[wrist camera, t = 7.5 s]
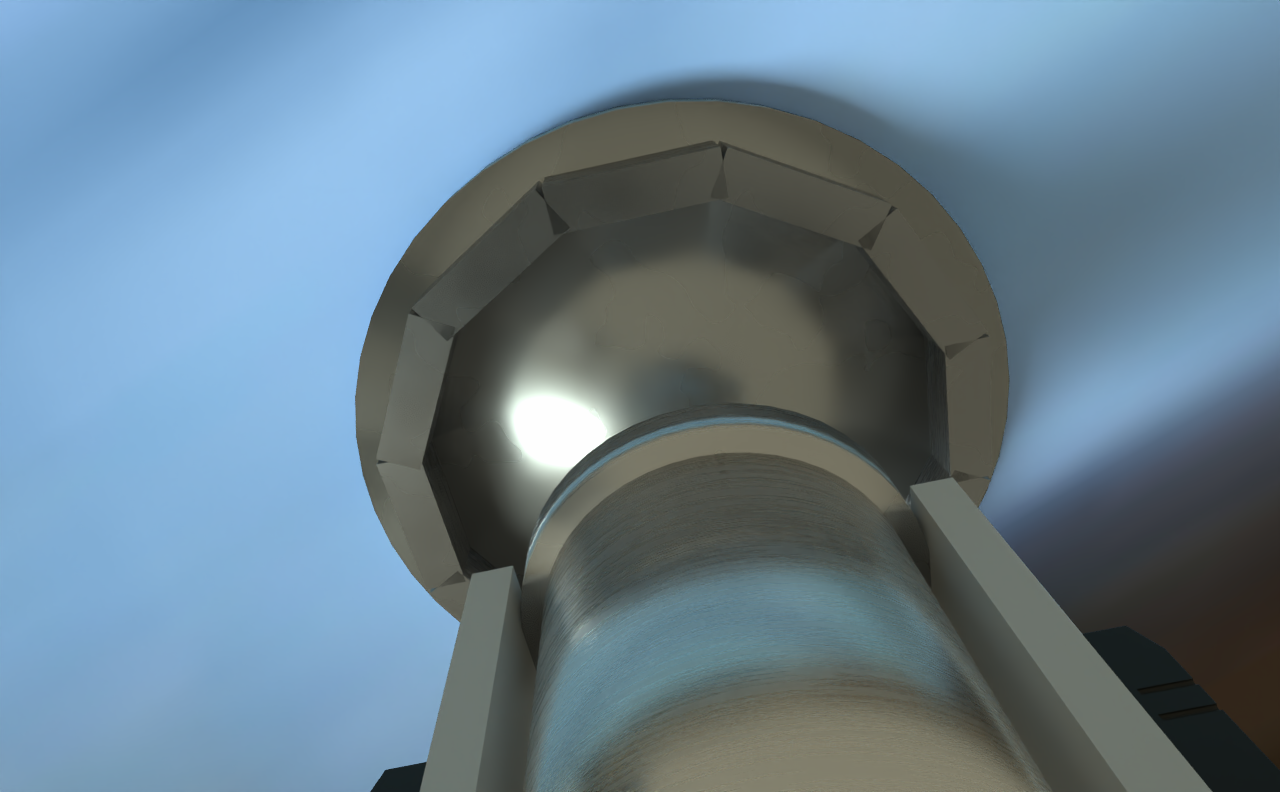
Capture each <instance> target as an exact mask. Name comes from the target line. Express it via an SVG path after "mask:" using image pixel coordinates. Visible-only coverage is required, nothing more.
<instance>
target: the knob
mask: <svg viewBox="0 0 1280 792" xmlns="http://www.w3.org/2000/svg"><path fill="white" fill-rule="evenodd" d="M520 614H521V627H522V631H523V634H524V637H525V640H526V643H527V646H528V649H529V651H530V654H531V657H532V660H533V663H534V666H535V669H536V680H535V689H534V698H533V707H532V716H531V725H530V734H529V743H528V752H527V761H526V770H525V779H524V788H523V792H1053V791H1052V790H1051V788H1050V786H1049V785H1048V783H1047V782H1046V780H1045V778H1044V777H1043V775H1042V773H1041V772H1040V770H1039V768H1038V767H1037V765H1036V763H1035V762H1034V760H1033V758H1032V757H1031V755H1030V753H1029V752H1028V750H1027V748H1026V747H1025V745H1024V743H1023V742H1022V740H1021V738H1020V737H1019V735H1018V733H1017V732H1016V730H1015V728H1014V727H1013V725H1012V723H1011V722H1010V720H1009V718H1008V717H1007V715H1006V713H1005V712H1004V710H1003V708H1002V707H1001V705H1000V704H999V702H998V700H997V699H996V697H995V695H994V694H993V692H992V690H991V689H990V687H989V685H988V684H987V682H986V680H985V679H984V677H983V675H982V674H981V672H980V670H979V669H978V667H977V665H976V664H975V662H974V660H973V659H972V657H971V655H970V654H969V652H968V650H967V649H966V647H965V645H964V644H963V642H962V640H961V639H960V637H959V635H958V634H957V632H956V631H955V629H954V627H953V626H952V624H951V622H950V621H949V619H948V617H947V616H946V614H945V612H944V611H943V609H942V607H941V606H940V604H939V602H938V601H937V599H936V597H935V596H934V594H933V592H932V585H931V569H930V554H929V548H928V545H927V542H926V539H925V536H924V533H923V531H922V529H921V527H920V525H919V523H918V521H917V519H916V517H915V515H914V513H913V512H912V510H911V509H910V507H909V506H908V504H907V503H906V501H905V500H904V498H903V497H902V495H901V494H900V492H899V491H898V489H897V487H896V486H895V484H894V483H893V482H892V480H891V479H890V477H889V476H888V475H887V473H886V472H885V471H884V469H883V468H882V467H881V465H880V464H879V463H878V462H877V461H876V460H875V459H874V458H873V457H872V456H871V455H870V454H869V453H868V452H867V451H866V450H865V449H864V448H863V447H862V446H860V445H859V444H858V443H856V442H855V441H853V440H852V439H851V438H849V437H848V436H847V435H845V434H844V433H842V432H840V431H838V430H837V429H835V428H833V427H831V426H829V425H827V424H825V423H823V422H822V421H819V420H817V419H814V418H811V417H808V416H806V415H803V414H800V413H798V412H794V411H790V410H785V409H781V408H777V407H772V406H766V405H756V404H746V403H725V404H709V405H702V406H694V407H687V408H683V409H679V410H675V411H672V412H668V413H664V414H660V415H657V416H655V417H652V418H650V419H647V420H645V421H642V422H640V423H637V424H635V425H632V426H631V427H629V428H627V429H625V430H623V431H621V432H620V433H618V434H616V435H614V436H612V437H610V438H609V439H607V440H606V441H605V442H603V443H602V444H600V445H599V446H598V447H596V448H595V449H593V450H592V451H591V452H589V453H588V454H587V455H586V456H585V457H584V458H582V459H581V460H580V461H579V462H578V463H577V464H576V465H575V466H574V467H573V468H572V469H571V470H570V471H569V472H568V473H567V474H566V475H565V477H564V478H563V479H562V480H561V482H560V483H559V484H558V485H557V486H556V488H555V489H554V490H553V492H552V494H551V495H550V497H549V499H548V500H547V502H546V503H545V505H544V507H543V508H542V510H541V512H540V515H539V517H538V520H537V522H536V524H535V527H534V529H533V532H532V536H531V540H530V544H529V548H528V552H527V558H526V565H525V571H524V578H523V584H522V593H521V605H520Z"/></svg>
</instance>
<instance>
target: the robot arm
mask: <svg viewBox="0 0 1280 792" xmlns="http://www.w3.org/2000/svg"><path fill="white" fill-rule="evenodd" d="M910 494H911V508H912V512H913V513H914V515H915V517H916V519H917V521H918V523H919V525H920V527H921V529H922V531H923V533H924V536H925V539H926V542H927V545H928V548H929V554H930V569H931V585H932V592H933V594H934V596H935V597H936V599H937V601H938V602H939V604H940V606H941V607H942V609H943V611H944V612H945V614H946V616H947V617H948V619H949V621H950V622H951V624H952V626H953V627H954V629H955V631H956V632H957V634H958V635H959V637H960V639H961V640H962V642H963V644H964V645H965V647H966V649H967V650H968V652H969V654H970V655H971V657H972V659H973V660H974V662H975V664H976V665H977V667H978V669H979V670H980V672H981V674H982V675H983V677H984V679H985V680H986V682H987V684H988V685H989V687H990V689H991V690H992V692H993V694H994V695H995V697H996V699H997V700H998V702H999V704H1000V705H1001V707H1002V708H1003V710H1004V712H1005V713H1006V715H1007V717H1008V718H1009V720H1010V722H1011V723H1012V725H1013V727H1014V728H1015V730H1016V732H1017V733H1018V735H1019V737H1020V738H1021V740H1022V742H1023V743H1024V745H1025V747H1026V748H1027V750H1028V752H1029V753H1030V755H1031V757H1032V758H1033V760H1034V762H1035V763H1036V765H1037V767H1038V768H1039V770H1040V772H1041V773H1042V775H1043V777H1044V778H1045V780H1046V782H1047V783H1048V785H1049V786H1050V788H1051V790H1052V791H1053V792H1280V770H1279V769H1278V768H1277V767H1276V766H1275V765H1274V764H1273V763H1272V762H1271V761H1270V760H1269V759H1268V758H1267V757H1266V756H1265V755H1264V753H1263V752H1262V751H1261V750H1260V749H1259V748H1258V747H1257V746H1256V745H1255V744H1254V743H1253V742H1252V741H1251V740H1250V739H1249V738H1248V736H1247V735H1246V734H1245V733H1244V732H1243V731H1242V730H1241V729H1240V728H1239V727H1238V726H1237V725H1236V724H1235V723H1234V722H1233V721H1232V720H1231V718H1230V717H1229V716H1228V715H1227V714H1226V713H1225V712H1224V711H1223V710H1219V709H1218V708H1217V705H1216V703H1215V701H1214V700H1213V699H1212V698H1211V697H1210V696H1209V695H1208V694H1207V693H1206V692H1205V691H1204V690H1203V689H1202V688H1201V687H1200V686H1199V685H1195V683H1194V682H1193V678H1192V677H1191V676H1190V675H1189V674H1188V673H1187V672H1186V671H1185V670H1184V669H1183V668H1182V667H1181V665H1180V664H1179V663H1178V662H1177V661H1176V660H1175V659H1174V658H1173V657H1172V656H1171V655H1170V654H1169V653H1168V652H1167V651H1166V650H1165V649H1164V648H1163V647H1161V646H1159V645H1158V644H1156V643H1154V642H1153V641H1151V640H1149V639H1147V638H1146V637H1144V636H1142V635H1141V634H1139V633H1137V632H1136V631H1134V630H1132V629H1130V628H1129V627H1127V626H1122V627H1117V628H1112V629H1106V630H1101V631H1096V632H1091V633H1085V634H1082V633H1081V632H1080V631H1079V630H1078V628H1077V627H1076V626H1075V625H1074V624H1073V622H1072V621H1071V620H1070V619H1069V618H1068V616H1067V615H1066V614H1065V613H1064V611H1063V610H1062V609H1061V608H1060V607H1059V605H1058V604H1057V603H1056V602H1055V601H1054V599H1053V598H1052V597H1051V596H1050V595H1049V593H1048V592H1047V591H1046V590H1045V588H1044V587H1043V586H1042V585H1041V584H1040V582H1039V581H1038V580H1037V579H1036V578H1035V576H1034V575H1033V574H1032V573H1031V572H1030V570H1029V569H1028V568H1027V567H1026V565H1025V564H1024V563H1023V562H1022V561H1021V559H1020V558H1019V557H1018V556H1017V555H1016V553H1015V552H1014V551H1013V550H1012V548H1011V547H1010V546H1009V545H1008V544H1007V542H1006V541H1005V540H1004V539H1003V538H1002V536H1001V535H1000V534H999V533H998V532H997V530H996V529H995V528H994V527H993V525H992V524H991V523H990V522H989V521H988V519H987V518H986V517H985V516H984V515H983V513H982V512H981V511H980V510H979V509H978V507H977V506H976V505H975V504H974V502H973V501H972V500H971V499H970V498H969V496H968V495H967V494H966V493H965V492H964V490H963V489H962V488H961V487H960V486H959V484H958V483H957V482H956V481H955V479H954V478H953V477H952V478H947V479H942V480H937V481H932V482H927V483H922V484H917V485H912V486H910ZM521 593H522V591H521V588H520V585H519V582H518V579H517V576H516V573H515V570H514V567H513V566H509V567H504V568H499V569H494V570H489V571H484V572H479V573H474V574H472V576H471V580H470V585H469V589H468V593H467V597H466V601H465V605H464V610H463V614H462V618H461V622H460V626H459V630H458V634H457V639H456V643H455V647H454V651H453V655H452V659H451V663H450V668H449V672H448V676H447V680H446V684H445V688H444V692H443V697H442V701H441V705H440V709H439V713H438V717H437V721H436V726H435V730H434V734H433V738H432V742H431V746H430V751H429V755H428V759H427V762H424V763H419V764H414V765H409V766H404V767H398V768H393V769H388V770H385V771H384V773H383V774H382V776H381V777H380V779H379V780H378V782H377V783H376V784H375V786H374V787H373V789H372V790H371V792H523V788H524V779H525V770H526V761H527V752H528V743H529V734H530V725H531V716H532V707H533V698H534V689H535V680H536V669H535V666H534V663H533V660H532V657H531V654H530V651H529V649H528V646H527V643H526V640H525V637H524V634H523V631H522V627H521V614H520V605H521Z"/></svg>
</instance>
